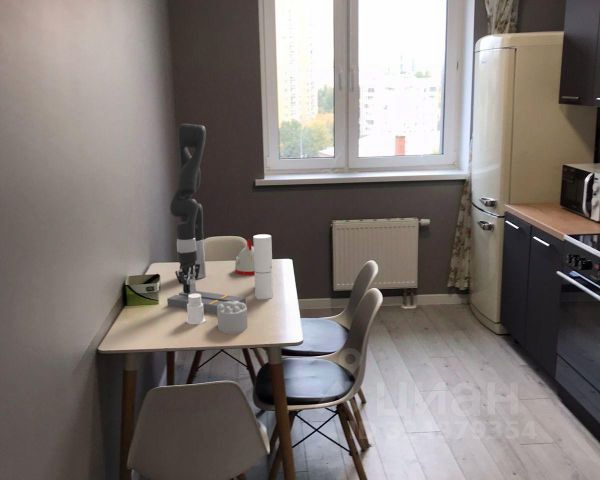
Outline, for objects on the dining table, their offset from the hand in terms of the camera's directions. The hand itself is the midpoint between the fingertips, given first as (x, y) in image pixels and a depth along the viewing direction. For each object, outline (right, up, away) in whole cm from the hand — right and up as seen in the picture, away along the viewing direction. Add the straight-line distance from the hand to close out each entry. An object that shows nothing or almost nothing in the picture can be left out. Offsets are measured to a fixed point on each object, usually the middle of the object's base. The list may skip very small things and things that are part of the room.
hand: (189, 291), depth 270 cm
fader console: (+7, -5, -3) cm, 9 cm away
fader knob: (0, -5, +1) cm, 5 cm away
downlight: (+6, -9, -20) cm, 23 cm away
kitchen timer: (+21, +6, +47) cm, 51 cm away
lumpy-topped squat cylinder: (+20, -11, -27) cm, 36 cm away
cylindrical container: (+29, -3, +7) cm, 30 cm away
